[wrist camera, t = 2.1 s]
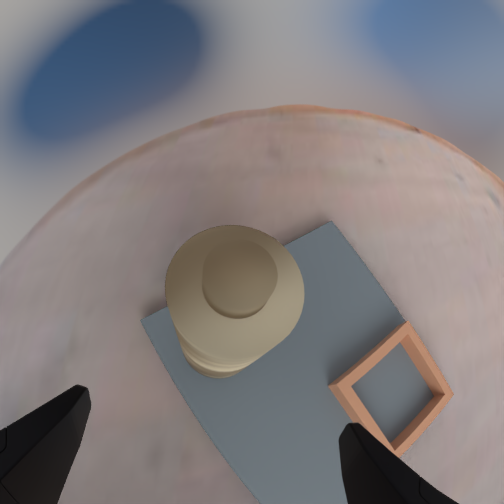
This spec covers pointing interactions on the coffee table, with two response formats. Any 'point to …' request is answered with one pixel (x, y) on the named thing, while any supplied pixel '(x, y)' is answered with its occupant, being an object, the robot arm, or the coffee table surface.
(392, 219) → the coffee table surface
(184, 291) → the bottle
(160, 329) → the board
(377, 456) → the robot arm
